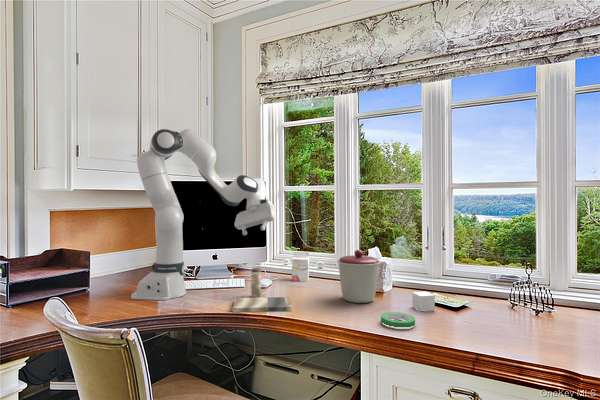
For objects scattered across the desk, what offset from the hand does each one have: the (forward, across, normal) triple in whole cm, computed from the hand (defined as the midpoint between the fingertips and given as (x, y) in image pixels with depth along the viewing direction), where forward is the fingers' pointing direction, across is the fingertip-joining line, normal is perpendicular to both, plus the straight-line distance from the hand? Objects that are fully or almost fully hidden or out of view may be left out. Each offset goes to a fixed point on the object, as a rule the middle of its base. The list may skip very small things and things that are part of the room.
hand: (253, 232), depth 164 cm
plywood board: (+35, +6, +2) cm, 35 cm away
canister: (+30, +38, +25) cm, 55 cm away
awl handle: (+26, -2, +10) cm, 28 cm away
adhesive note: (+37, +63, +26) cm, 78 cm away
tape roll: (+48, +56, +8) cm, 74 cm away
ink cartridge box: (+7, +4, +42) cm, 43 cm away
